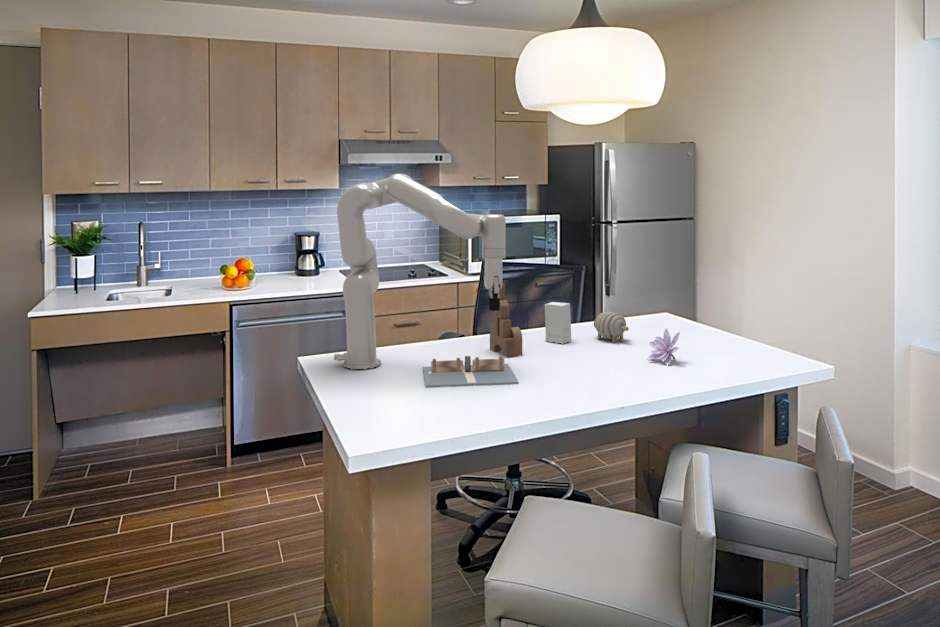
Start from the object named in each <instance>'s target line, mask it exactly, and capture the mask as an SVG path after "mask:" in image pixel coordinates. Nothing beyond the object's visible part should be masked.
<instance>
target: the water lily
mask: <svg viewBox="0 0 940 627" xmlns="http://www.w3.org/2000/svg"><path fill="white" fill-rule="evenodd" d="M680 333H681V331H678V332H677V333H676V334H675V335H673V338H672V336H671V335H670V332H669V329H668V328H665V329H664V331H663V338H662V337H661V336H655V339H654V340H653V341H649V343H648V345H649V347H651V348H653V349H654V350H652V351H650V352H649V353H650V355H649V356H648V357H647V358H649V359H648V360H647V361H651V360H652V359H653V360H655V359H656V360H657V359H659V358H660V357H661V361H662V362H664V364H666V363H668V364H669V365H670V364H671V361H672V359H673V360H674V359H676V357H675V355H674V354H673V353H675V352H677V351H678V350H679V347H678V346H675V345H676V343H677V341H678V339H679V337H680V335H681V334H680ZM671 338H672V339H671Z"/></svg>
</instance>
